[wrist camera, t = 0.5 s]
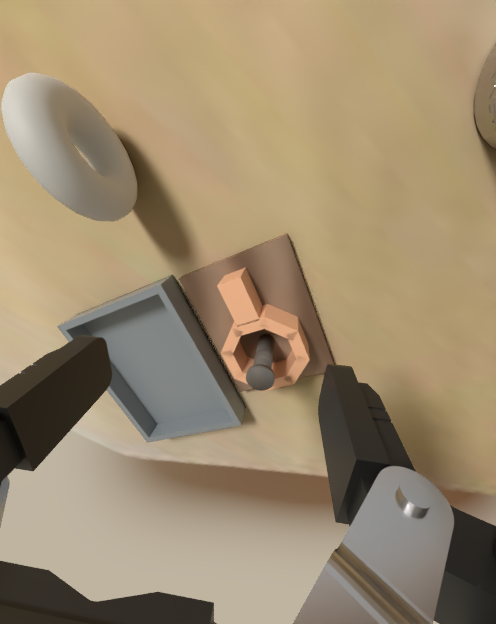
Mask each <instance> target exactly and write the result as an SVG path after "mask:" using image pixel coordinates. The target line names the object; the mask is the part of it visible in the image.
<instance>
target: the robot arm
mask: <svg viewBox="0 0 496 624" xmlns="http://www.w3.org/2000/svg"><path fill="white" fill-rule="evenodd" d="M474 114H475V119H476V124H477V127H478V129H479V131H480V133H481V135H482V137H483V139H484V140H485V141H486V142H487V143H488V144H489V145H490V146H491V147H493V148H495V149H496V44H495V46H494V48H493V50H492V51H491V53H490V55H489V57H488V58H487V60H486V62H485V64H484V67H483V69H482V72H481V74H480V77H479V79H478V84H477V88H476V93H475V102H474ZM111 379H112V369H111V364H110V359H109V353H108V348H107V343H106V341H105V339H104V338H102V337H94V336H85V335H80V336H78V337H76V338H75V339H73V340H72V341H70V342H69V343H67V344H66V345H65V346H63V347H62V348H60V349H58V350H55V351H53V352H51V353H48V354H46V355H45V356H43V357H42V358H40V359H39V360H37V361H36V362H34V363H33V365H32V366H31V365H30V366H29V367H27V368H26V369H24V370H23V371H21V374H17V375H15V376H14V377H12V378H11V379H9V380H8V381H6V382H5V383H4V384H2V385H1V386H0V526H1V522H2V517H3V512H4V508H5V502H6V498H7V493H8V489H9V479H8V477H7V475H8V474H9V473H10V472H11V471H12V470H13V469H14V468H16V469H23V470H29V471H34V470H35V469H36V468H37V466H38V465H39V464H40V463H41V462H42V461H43V460H44V459H45V457H46V456H47V455H48V454H49V453H50V452H51V451H52V450H53V449H54V448H55V447H56V445H57V444H58V443H59V442H60V441H61V440H62V439H63V437H64V436H65V435H66V434H67V433H68V432H69V431H70V430H71V429H72V428H73V426H74V425H75V424H76V423H77V422H78V421H79V420H80V419H81V418H82V416H83V415H84V414H85V413H86V412H87V411H88V410H89V409H90V408H91V406H92V405H93V404H94V403H95V402H96V401H97V400H98V399H99V398H100V396H101V395H102V394H103V393H104V392H105V391H106V390H107V388H108V387H109V385H110V383H111ZM318 415H319V422H320V428H321V435H322V441H323V447H324V453H325V459H326V465H327V472H328V478H329V484H330V490H331V496H332V502H333V509H334V515H335V520H336V522H338V523H344V524H349V526H350V528H349V530H348V531H347V533H346V535H345V537H344V539H343V541H342V542H341V544H340V546H339V547H338V549H335V551H334V552H333V553H332V555H331V556H330V558H329V560H328V561H327V563H326V565H325V567H324V568H323V570H322V572H321V574H320V576H319V578H318V579H317V581H316V583H315V585H314V587H313V589H312V590H311V592H310V594H309V596H308V597H307V599H306V601H305V603H304V605H303V606H302V608H301V610H300V612H299V614H298V616H297V617H296V619H295V621H294V623H293V624H433V620H434V621H436V622H438V623H439V624H496V526H494V525H492V524H489V523H487V522H485V521H483V520H480V519H478V518H476V517H473V516H471V515H469V514H466V513H464V512H462V511H460V510H458V509H456V508H454V507H452V506H450V505H449V503H448V501H447V500H446V498H445V497H444V495H443V494H442V493H441V491H440V490H439V489H438V488H437V487H436V486H435V485H434V484H433V483H432V482H430V481H429V480H428V479H427V478H425V477H424V476H422V475H421V474H419V473H417V472H416V471H415V469H414V467H413V465H412V463H411V461H410V459H409V457H408V455H407V453H406V451H405V449H404V446H403V444H402V442H401V440H400V438H399V436H398V434H397V432H396V430H395V428H394V426H393V424H392V423H391V419H390V417H389V415H388V413H387V411H385V407H384V405H383V403H382V401H381V398H380V396H379V395H378V394H377V393H376V392H375V391H374V390H373V389H372V388H371V387H370V386H369V385H368V384H366V383H358V381H357V379H356V376H355V374H354V371H353V369H352V367H351V366H342V365H334V364H328V365H327V367H326V370H325V375H324V379H323V384H322V389H321V393H320V398H319V406H318ZM0 624H216V623H215V622H214V603H212V602H207V601H202V600H197V599H192V598H186V597H181V596H176V595H171V594H166V593H161V592H155V593H148V594H143V595H137V596H130V597H124V598H118V599H112V600H106V601H99V602H94V601H90V600H89V599H87V598H86V597H84V596H83V595H82V594H80V593H79V592H77V591H76V590H75V589H73V588H72V587H71V586H69V585H68V584H67V583H65V582H64V581H63V580H61V579H60V578H59V577H57V576H56V575H54V574H53V573H52V572H50V571H49V570H44V569H39V568H33V567H28V566H23V565H18V564H13V563H8V562H3V561H0Z"/></svg>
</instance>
